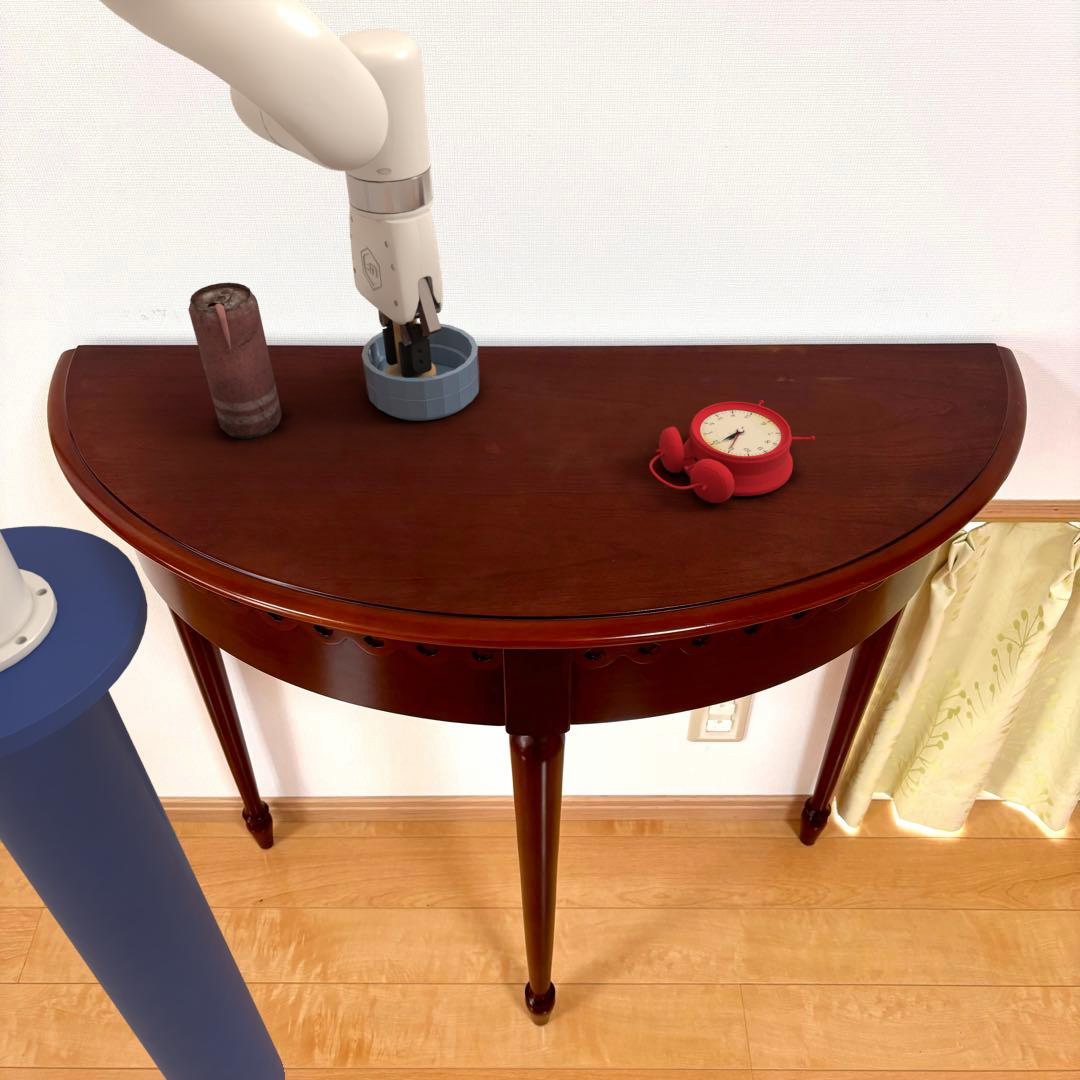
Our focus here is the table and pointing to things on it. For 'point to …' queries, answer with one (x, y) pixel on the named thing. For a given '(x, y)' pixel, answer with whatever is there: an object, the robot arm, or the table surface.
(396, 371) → the dish brush
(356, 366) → the table surface
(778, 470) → the alarm clock
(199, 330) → the can
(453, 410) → the bowl
